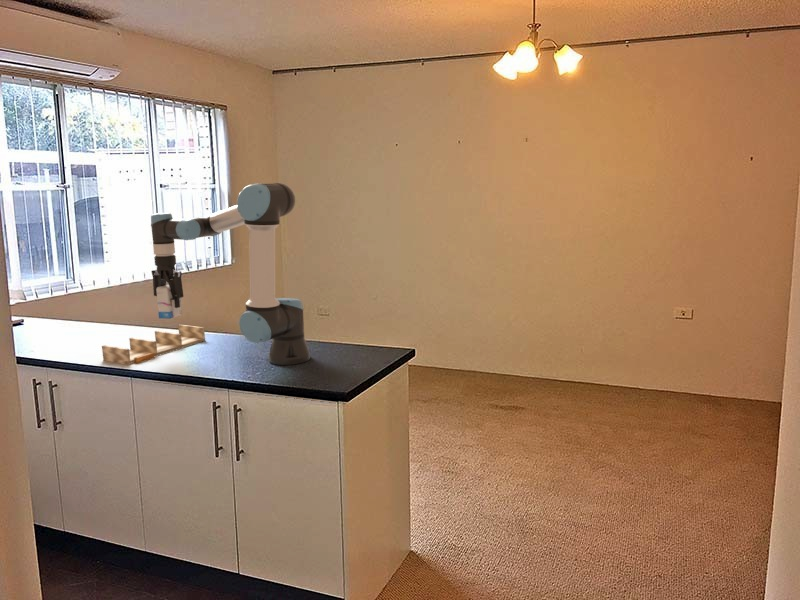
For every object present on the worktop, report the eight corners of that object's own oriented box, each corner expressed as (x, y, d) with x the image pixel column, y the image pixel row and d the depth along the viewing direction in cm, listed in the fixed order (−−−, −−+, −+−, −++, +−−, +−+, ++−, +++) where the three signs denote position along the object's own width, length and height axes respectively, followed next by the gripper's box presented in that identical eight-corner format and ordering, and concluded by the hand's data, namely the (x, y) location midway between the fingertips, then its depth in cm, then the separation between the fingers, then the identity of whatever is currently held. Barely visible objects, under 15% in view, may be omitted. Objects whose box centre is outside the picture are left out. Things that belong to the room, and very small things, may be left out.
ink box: (170, 319, 251) (167, 287, 249) (158, 319, 252) (155, 287, 250) (182, 314, 259) (179, 284, 257) (171, 314, 260) (168, 284, 258)
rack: (208, 341, 280) (206, 327, 279) (131, 365, 247) (129, 350, 246) (181, 337, 288) (180, 324, 287) (103, 360, 255) (101, 345, 254)
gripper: (190, 254, 250) (195, 315, 254) (155, 252, 259) (160, 311, 263) (174, 257, 243) (180, 319, 248) (139, 254, 253) (145, 315, 257)
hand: (170, 315), depth 256 cm, fingers closed on ink box, 6 cm apart
